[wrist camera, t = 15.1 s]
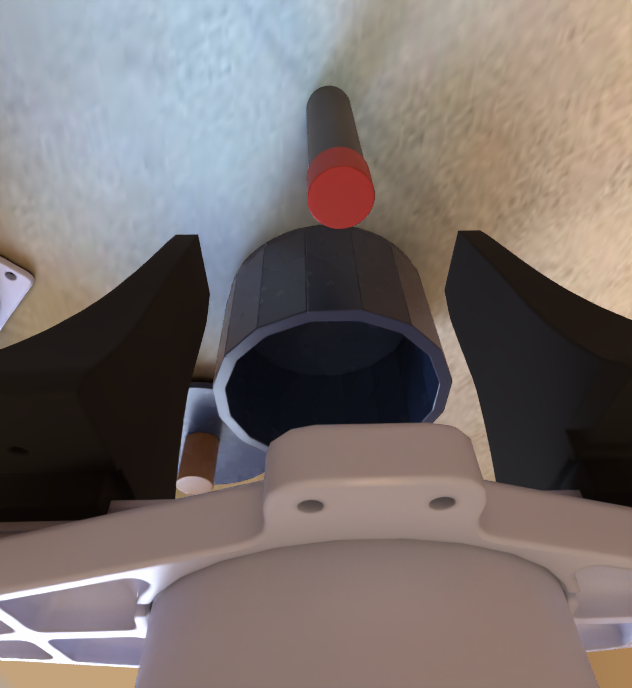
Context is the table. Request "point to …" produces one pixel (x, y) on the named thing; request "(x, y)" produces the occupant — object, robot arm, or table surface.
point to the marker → (336, 162)
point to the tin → (327, 338)
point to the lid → (212, 447)
